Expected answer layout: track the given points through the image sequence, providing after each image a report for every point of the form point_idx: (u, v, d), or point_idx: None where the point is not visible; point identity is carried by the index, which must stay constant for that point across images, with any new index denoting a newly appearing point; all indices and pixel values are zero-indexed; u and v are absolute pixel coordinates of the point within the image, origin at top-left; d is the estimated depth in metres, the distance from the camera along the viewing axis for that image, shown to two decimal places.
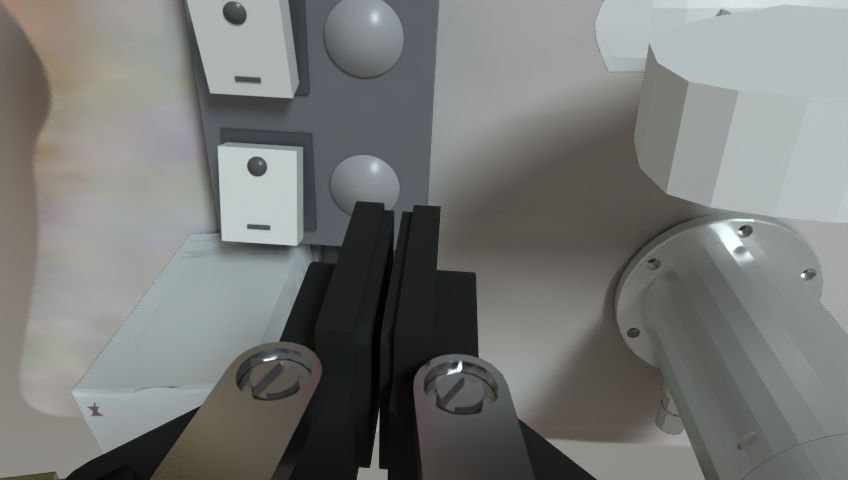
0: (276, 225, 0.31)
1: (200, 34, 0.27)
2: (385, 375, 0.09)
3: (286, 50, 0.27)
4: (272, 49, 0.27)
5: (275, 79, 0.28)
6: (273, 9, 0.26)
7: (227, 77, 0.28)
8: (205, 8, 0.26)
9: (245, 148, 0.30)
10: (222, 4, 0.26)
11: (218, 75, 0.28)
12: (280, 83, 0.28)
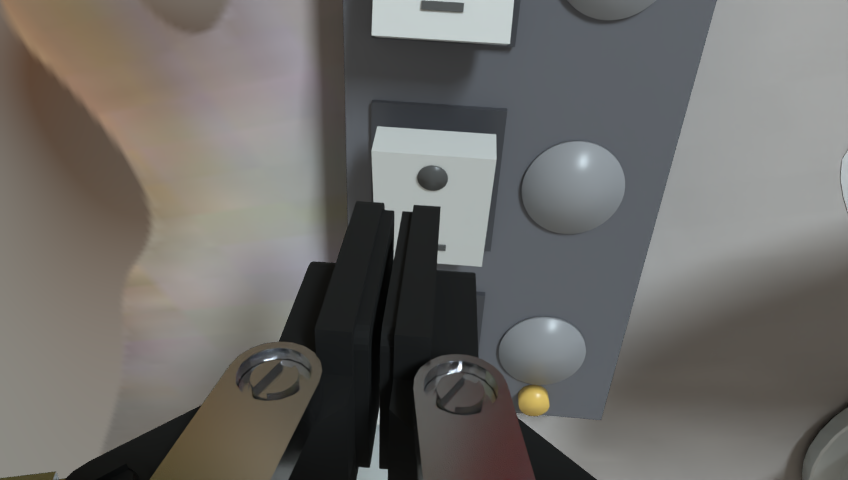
0: None
1: (379, 198, 0.21)
2: (385, 375, 0.09)
3: (488, 217, 0.21)
4: (471, 216, 0.21)
5: (464, 247, 0.22)
6: (485, 175, 0.20)
7: None
8: (394, 172, 0.20)
9: None
10: (418, 168, 0.20)
11: None
12: (469, 251, 0.22)
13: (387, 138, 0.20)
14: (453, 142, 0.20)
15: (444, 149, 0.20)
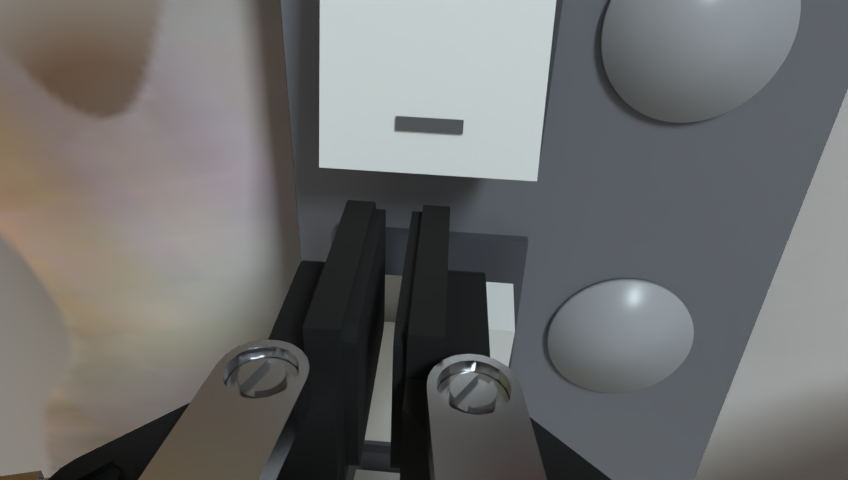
0: None
1: None
2: (397, 375, 0.09)
3: None
4: None
5: None
6: (498, 348, 0.13)
7: (381, 422, 0.16)
8: None
9: None
10: None
11: None
12: None
13: None
14: None
15: None
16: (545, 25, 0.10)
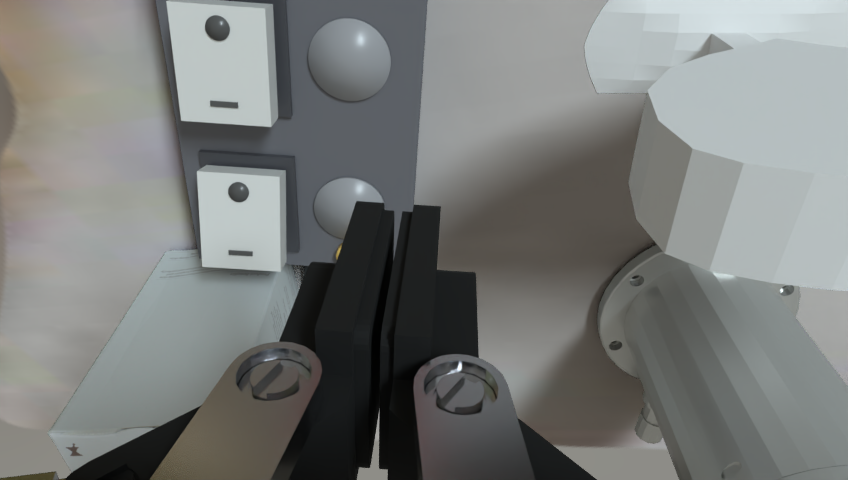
0: (259, 251, 0.31)
1: (177, 51, 0.25)
2: (385, 375, 0.09)
3: (268, 71, 0.26)
4: (254, 69, 0.26)
5: (254, 104, 0.27)
6: (258, 24, 0.25)
7: (202, 101, 0.26)
8: (186, 22, 0.25)
9: (226, 173, 0.29)
10: (205, 18, 0.25)
11: (192, 100, 0.26)
12: (258, 109, 0.27)
13: None
14: (235, 3, 0.25)
15: (226, 5, 0.25)
16: None
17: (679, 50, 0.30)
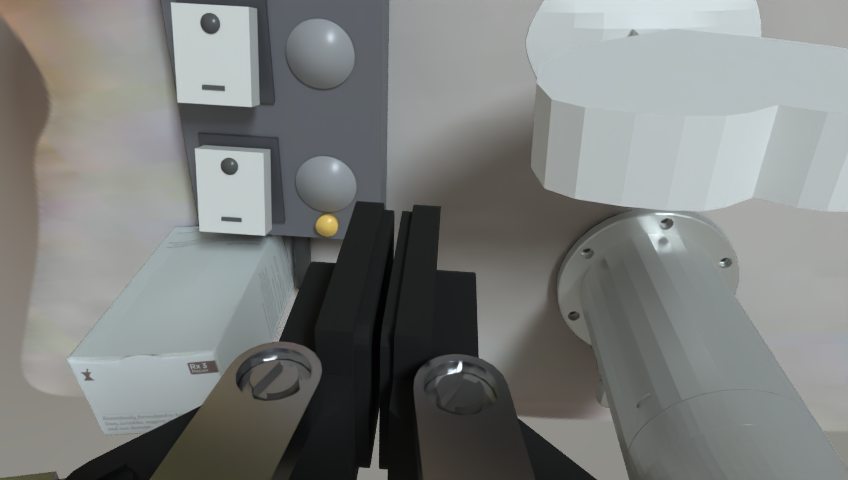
0: (246, 217, 0.36)
1: (177, 43, 0.31)
2: (385, 375, 0.09)
3: (250, 59, 0.31)
4: (238, 57, 0.31)
5: (238, 87, 0.32)
6: (243, 19, 0.31)
7: (195, 85, 0.32)
8: (186, 19, 0.31)
9: (219, 150, 0.35)
10: (201, 16, 0.31)
11: (187, 84, 0.32)
12: (241, 91, 0.32)
13: None
14: None
15: None
16: None
17: None
